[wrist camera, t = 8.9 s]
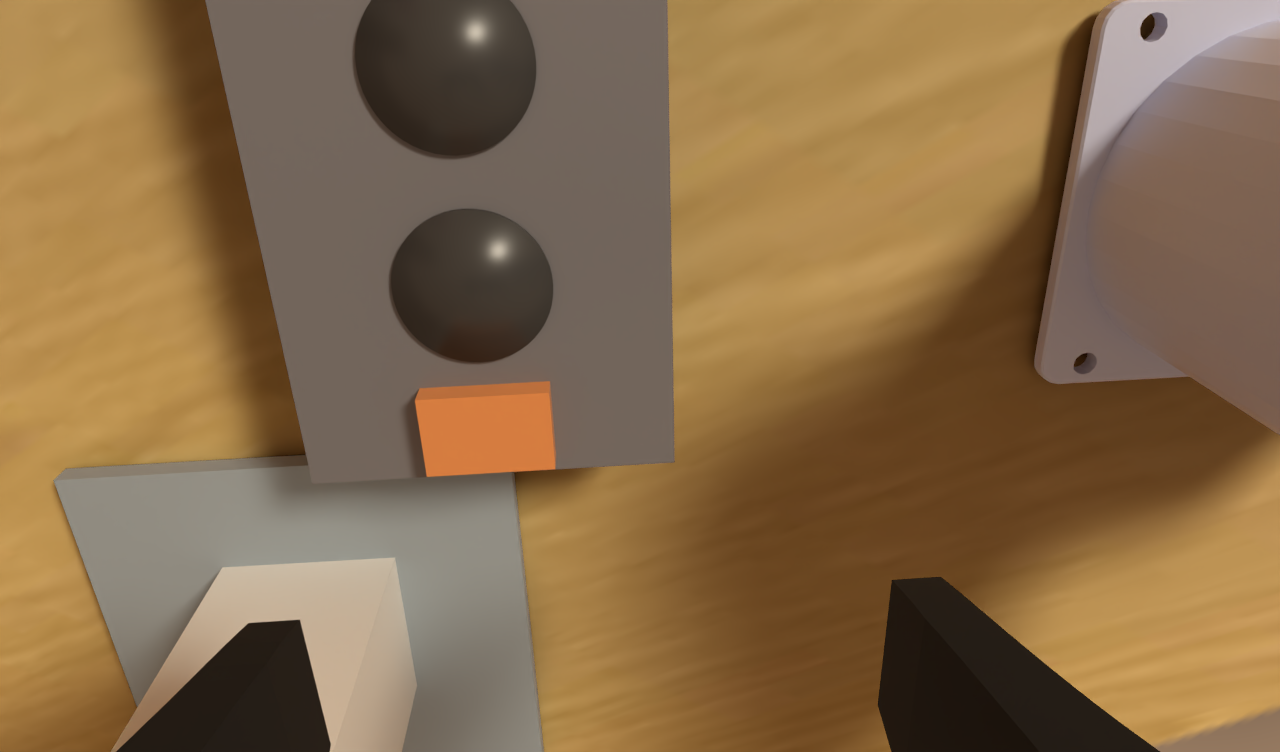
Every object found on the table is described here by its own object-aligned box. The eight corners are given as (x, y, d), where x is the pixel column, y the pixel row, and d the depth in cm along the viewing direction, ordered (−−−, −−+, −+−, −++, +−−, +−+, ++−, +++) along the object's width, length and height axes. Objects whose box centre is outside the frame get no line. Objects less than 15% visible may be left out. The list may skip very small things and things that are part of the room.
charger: (395, 557, 20) (325, 777, 15) (417, 685, 22) (361, 926, 16) (221, 567, 20) (85, 794, 15) (257, 695, 22) (146, 943, 16)
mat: (510, 442, 20) (509, 453, 19) (544, 755, 24) (543, 770, 24) (65, 468, 19) (53, 480, 19) (178, 783, 24) (171, 798, 23)
